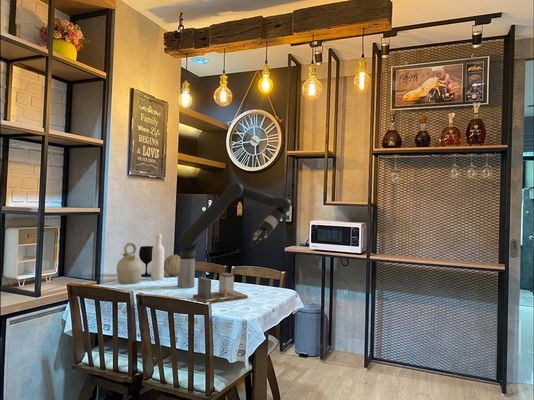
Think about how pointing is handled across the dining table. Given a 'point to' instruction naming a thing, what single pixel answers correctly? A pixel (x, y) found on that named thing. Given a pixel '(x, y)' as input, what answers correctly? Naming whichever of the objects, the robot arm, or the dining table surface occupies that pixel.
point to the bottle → (158, 259)
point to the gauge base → (222, 297)
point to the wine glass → (146, 257)
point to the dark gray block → (204, 288)
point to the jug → (129, 267)
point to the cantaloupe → (172, 265)
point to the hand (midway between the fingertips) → (250, 246)
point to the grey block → (226, 283)
